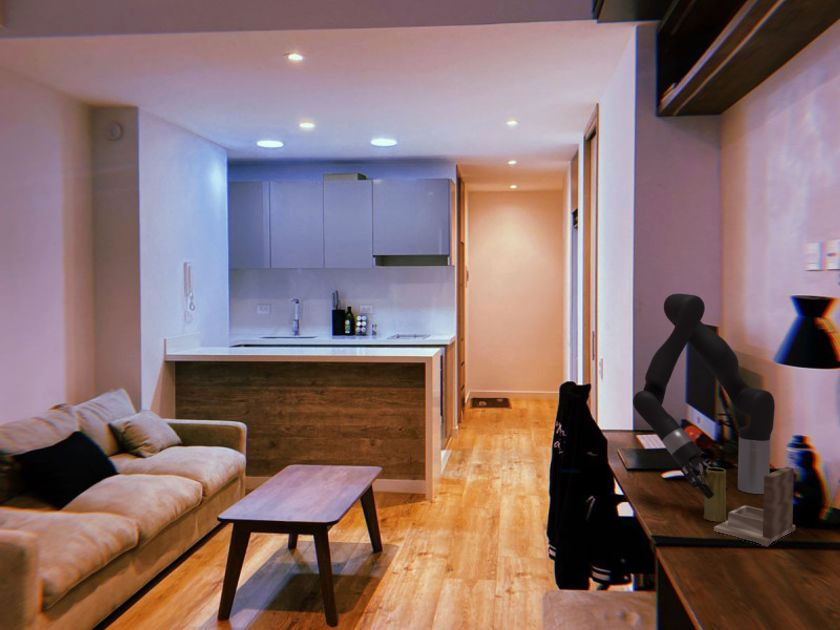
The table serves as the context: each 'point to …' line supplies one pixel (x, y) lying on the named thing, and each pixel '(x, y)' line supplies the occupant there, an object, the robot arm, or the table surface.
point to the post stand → (765, 512)
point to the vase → (716, 495)
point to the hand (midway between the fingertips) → (718, 494)
